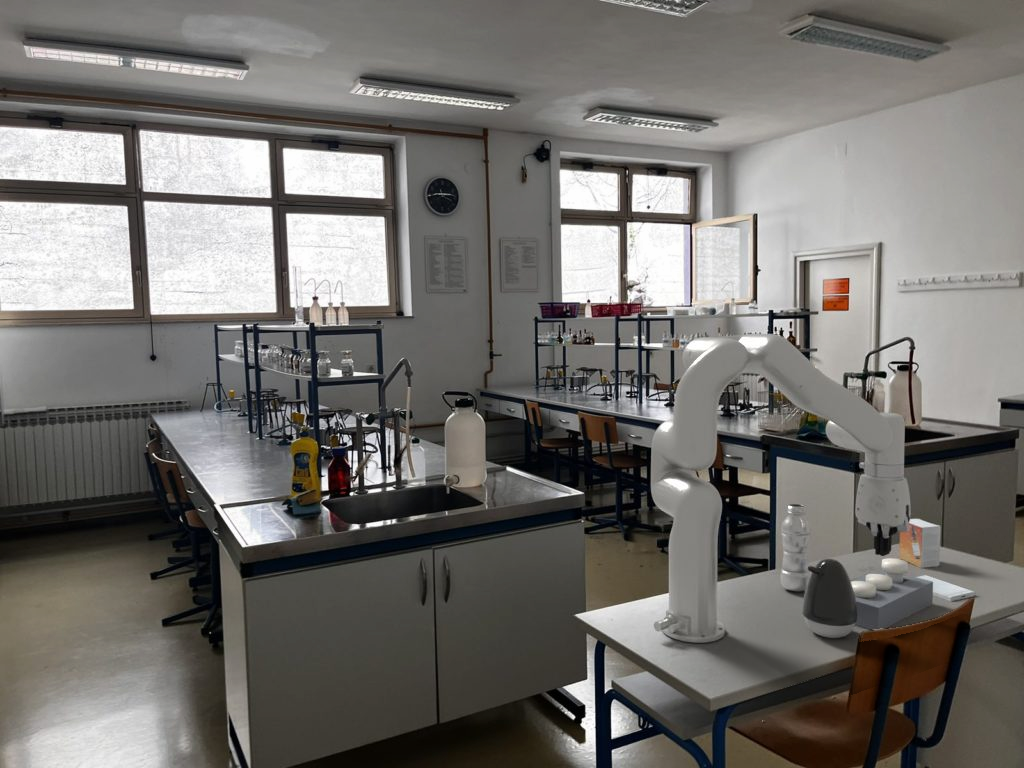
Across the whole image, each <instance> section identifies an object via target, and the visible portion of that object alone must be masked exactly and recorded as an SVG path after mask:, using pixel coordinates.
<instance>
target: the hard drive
mask: <svg viewBox="0 0 1024 768" xmlns="http://www.w3.org/2000/svg"><path fill="white" fill-rule="evenodd" d="M915 577H916V578H921V579H925V580H929V581H933V597H934V596H935V597H938V598H940V599H944V600H946V601H949V602H955V601H957V600H964V599H968V598H972V597H975V596H974V595H976V593H977V592H975V591H973V590H971V589H967V588H964V587H962V586H959V585H955V584H953V583H950V582H947V581H944V580H941V579H938V578H935V577H933V576H929V575H926V574H924V575H920V576H915Z"/></svg>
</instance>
